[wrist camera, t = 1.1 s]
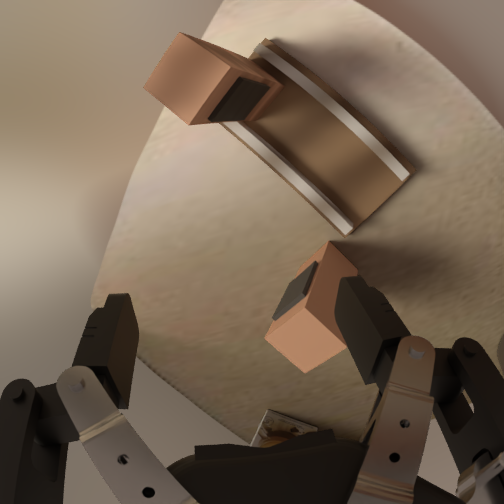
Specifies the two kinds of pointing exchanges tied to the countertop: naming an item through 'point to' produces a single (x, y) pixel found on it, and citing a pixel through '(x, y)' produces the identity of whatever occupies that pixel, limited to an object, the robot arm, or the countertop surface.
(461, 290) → the countertop surface
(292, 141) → the rail base
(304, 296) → the block
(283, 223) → the countertop surface
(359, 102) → the countertop surface
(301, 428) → the coffee box
